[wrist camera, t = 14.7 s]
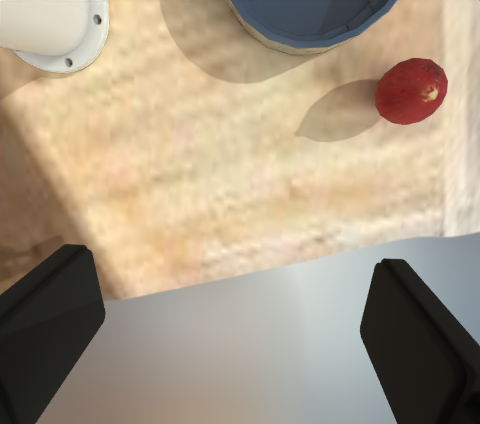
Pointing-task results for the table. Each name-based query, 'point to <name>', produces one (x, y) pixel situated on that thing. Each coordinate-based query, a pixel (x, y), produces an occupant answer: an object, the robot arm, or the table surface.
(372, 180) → the table surface
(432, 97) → the onion
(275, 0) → the bowl
